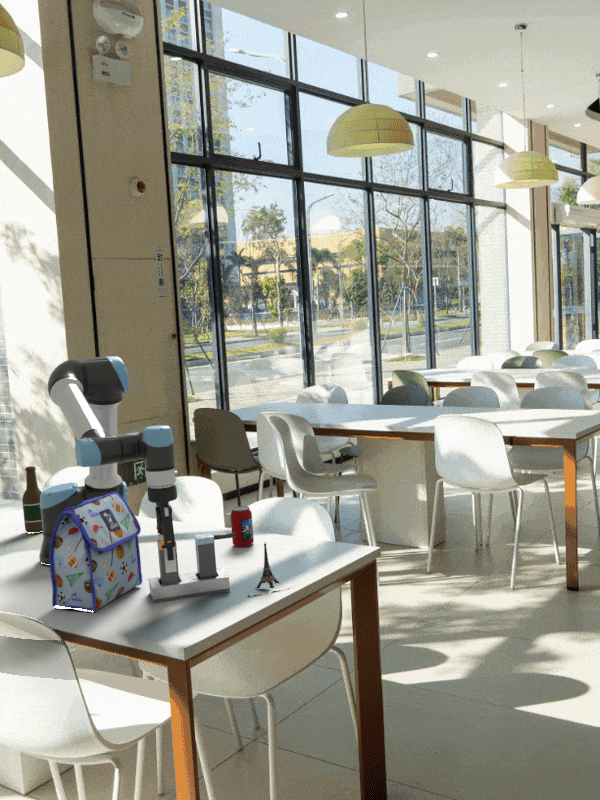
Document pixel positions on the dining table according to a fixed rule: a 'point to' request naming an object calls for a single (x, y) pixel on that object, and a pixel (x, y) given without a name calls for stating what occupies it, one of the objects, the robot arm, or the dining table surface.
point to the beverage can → (242, 526)
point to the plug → (165, 577)
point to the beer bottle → (32, 502)
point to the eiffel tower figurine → (267, 572)
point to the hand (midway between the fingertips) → (168, 564)
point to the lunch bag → (95, 553)
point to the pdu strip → (195, 575)
